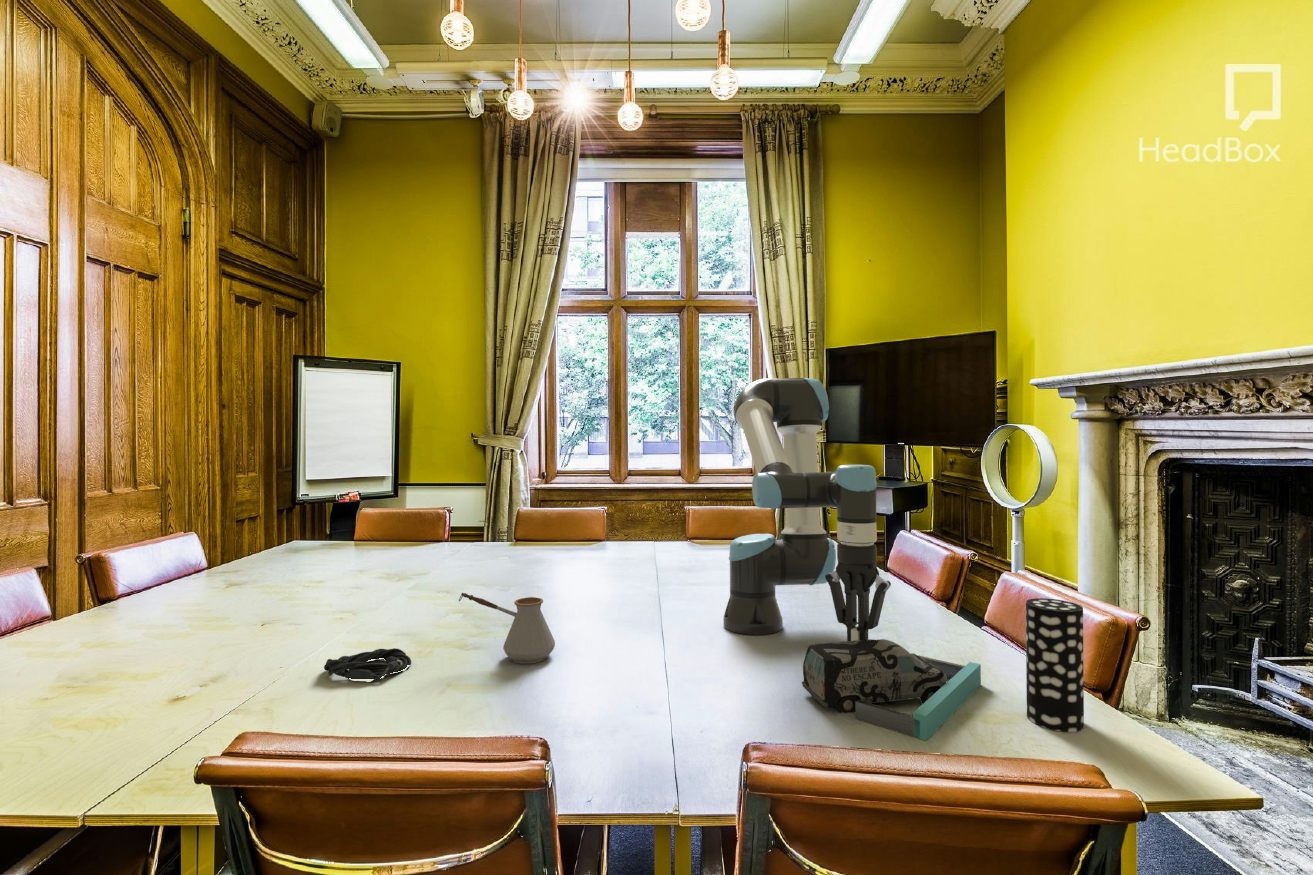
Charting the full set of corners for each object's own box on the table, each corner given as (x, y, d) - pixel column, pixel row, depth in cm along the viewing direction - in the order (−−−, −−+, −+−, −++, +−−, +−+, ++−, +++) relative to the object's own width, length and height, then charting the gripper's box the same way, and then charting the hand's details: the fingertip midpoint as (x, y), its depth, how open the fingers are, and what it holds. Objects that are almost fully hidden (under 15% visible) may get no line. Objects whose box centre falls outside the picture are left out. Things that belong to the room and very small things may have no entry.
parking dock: (855, 718, 110) (855, 695, 110) (918, 669, 132) (918, 650, 132) (926, 740, 102) (926, 716, 102) (980, 684, 124) (980, 664, 124)
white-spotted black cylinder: (1016, 711, 112) (1015, 599, 112) (1060, 709, 112) (1059, 597, 112) (1049, 733, 103) (1048, 612, 103) (1096, 730, 104) (1095, 610, 104)
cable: (308, 682, 130) (308, 661, 130) (352, 657, 144) (352, 639, 144) (384, 686, 127) (383, 665, 127) (421, 661, 141) (421, 642, 141)
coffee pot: (558, 648, 148) (557, 584, 148) (551, 666, 136) (550, 597, 136) (467, 650, 147) (466, 586, 147) (452, 668, 136) (451, 599, 136)
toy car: (950, 704, 115) (950, 650, 115) (824, 717, 111) (823, 660, 111) (916, 682, 126) (916, 632, 126) (799, 692, 121) (799, 641, 121)
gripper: (817, 541, 126) (818, 658, 127) (880, 549, 118) (882, 674, 118) (835, 536, 132) (836, 648, 132) (896, 543, 123) (897, 663, 123)
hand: (857, 660), depth 125 cm, fingers closed
